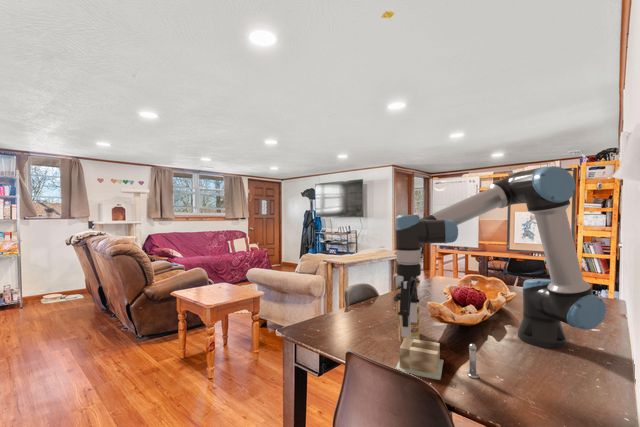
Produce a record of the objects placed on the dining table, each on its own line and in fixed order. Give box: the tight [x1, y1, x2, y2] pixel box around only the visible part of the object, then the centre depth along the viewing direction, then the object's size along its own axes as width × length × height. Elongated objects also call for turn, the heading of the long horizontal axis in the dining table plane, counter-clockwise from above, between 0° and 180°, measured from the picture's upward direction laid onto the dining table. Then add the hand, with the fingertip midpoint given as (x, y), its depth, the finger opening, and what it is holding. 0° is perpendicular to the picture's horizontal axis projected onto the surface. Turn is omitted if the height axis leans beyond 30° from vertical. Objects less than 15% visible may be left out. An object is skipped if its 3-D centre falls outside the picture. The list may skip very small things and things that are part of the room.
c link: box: [399, 338, 441, 375], centre depth 99 cm, size 11×9×6 cm
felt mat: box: [395, 359, 444, 381], centre depth 99 cm, size 13×13×1 cm
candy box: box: [397, 300, 421, 344], centre depth 115 cm, size 9×4×15 cm, turn 13°
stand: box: [466, 343, 479, 380], centre depth 93 cm, size 3×3×10 cm
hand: (409, 329), depth 101 cm, fingers open, 13 cm apart
